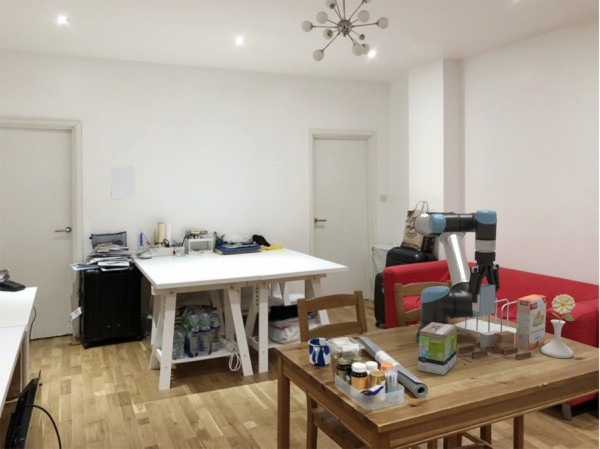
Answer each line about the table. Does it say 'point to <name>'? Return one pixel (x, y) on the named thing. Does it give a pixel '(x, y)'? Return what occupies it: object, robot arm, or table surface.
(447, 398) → the table surface
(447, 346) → the tea box
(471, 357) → the stand
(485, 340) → the offcut grey
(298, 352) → the table surface
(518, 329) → the cracker box
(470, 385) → the table surface
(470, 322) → the file sorter
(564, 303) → the flower in vase
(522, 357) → the rack
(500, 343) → the offcut brown
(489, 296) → the panel
